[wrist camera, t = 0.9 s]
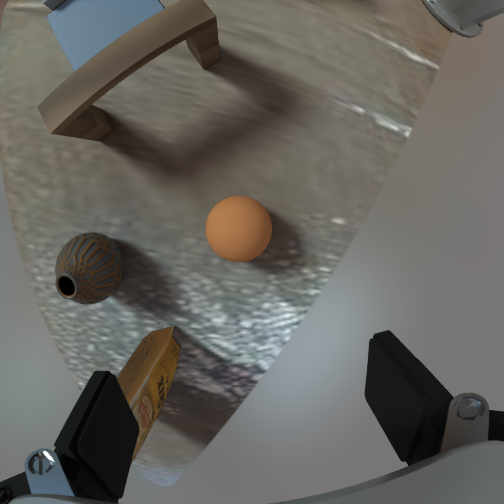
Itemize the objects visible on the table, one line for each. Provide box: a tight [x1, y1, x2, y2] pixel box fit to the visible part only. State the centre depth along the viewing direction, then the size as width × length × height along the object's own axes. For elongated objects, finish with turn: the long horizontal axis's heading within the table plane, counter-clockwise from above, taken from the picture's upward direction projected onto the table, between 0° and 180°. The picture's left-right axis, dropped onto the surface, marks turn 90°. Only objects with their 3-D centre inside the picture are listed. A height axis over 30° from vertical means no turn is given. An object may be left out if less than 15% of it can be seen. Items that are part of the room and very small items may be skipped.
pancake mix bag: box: [117, 326, 181, 463], centre depth 21 cm, size 7×19×28 cm, turn 152°
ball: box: [206, 196, 272, 262], centre depth 27 cm, size 6×6×6 cm
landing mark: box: [47, 0, 164, 71], centre depth 22 cm, size 12×12×1 cm
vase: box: [55, 233, 124, 304], centre depth 26 cm, size 7×7×9 cm
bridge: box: [38, 0, 220, 141], centre depth 21 cm, size 3×15×10 cm, turn 122°
